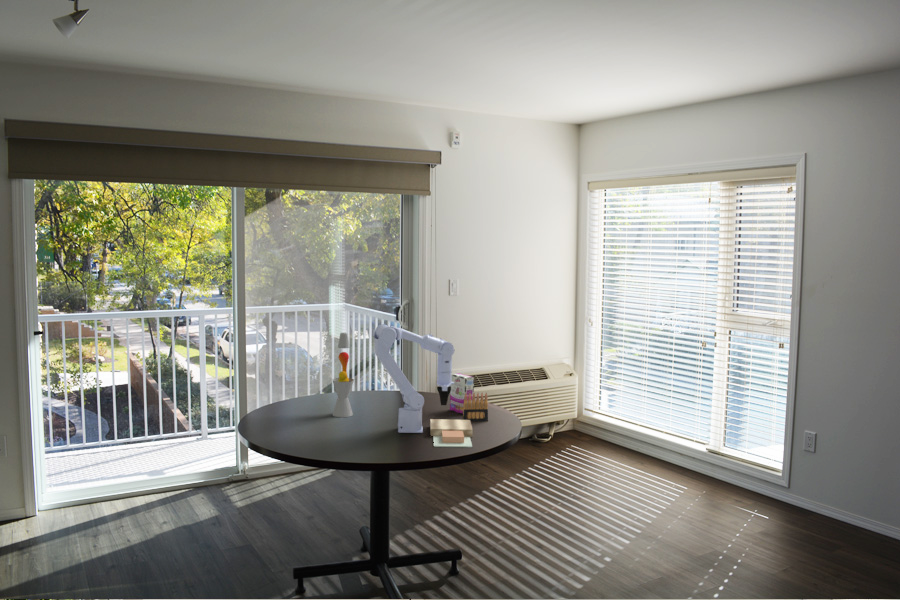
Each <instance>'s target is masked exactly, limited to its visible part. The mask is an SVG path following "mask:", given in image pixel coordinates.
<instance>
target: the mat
mask: <svg viewBox="0 0 900 600" xmlns="http://www.w3.org/2000/svg"><path fill="white" fill-rule="evenodd" d="M432 440H433V442H434V443H433V447H434V448H473V443H472V441H471V437H464V443H442V436H433V437H432Z"/></svg>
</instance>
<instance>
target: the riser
mask: <svg viewBox="0 0 900 600" xmlns="http://www.w3.org/2000/svg"><path fill="white" fill-rule="evenodd" d="M429 420H430V423H429V433H430V435H431V436H442V431H463V434H464V437H470V438H473V433H474V432H473V426H472V421H470V420H462V419H446V418H445V419H442V418H441V419H440V418H438V419H437V418H435V419H433V418H430V419H429ZM431 436H430V437H431Z"/></svg>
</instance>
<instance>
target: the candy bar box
mask: <svg viewBox="0 0 900 600" xmlns="http://www.w3.org/2000/svg"><path fill="white" fill-rule="evenodd" d="M451 382H454V384H452V385H450V386H451V391H450V393H449V411H451V412H455V413H457V414H460V415H463V404H464V396H465V393H466V394H467V406H468V396H469V393H470V394H471V408H472V397H473V393H475V391H474V389H475V377H474V376H472V375H471V376H470V375H468V374H463V373H456V372H455V373H452V378H451Z"/></svg>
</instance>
